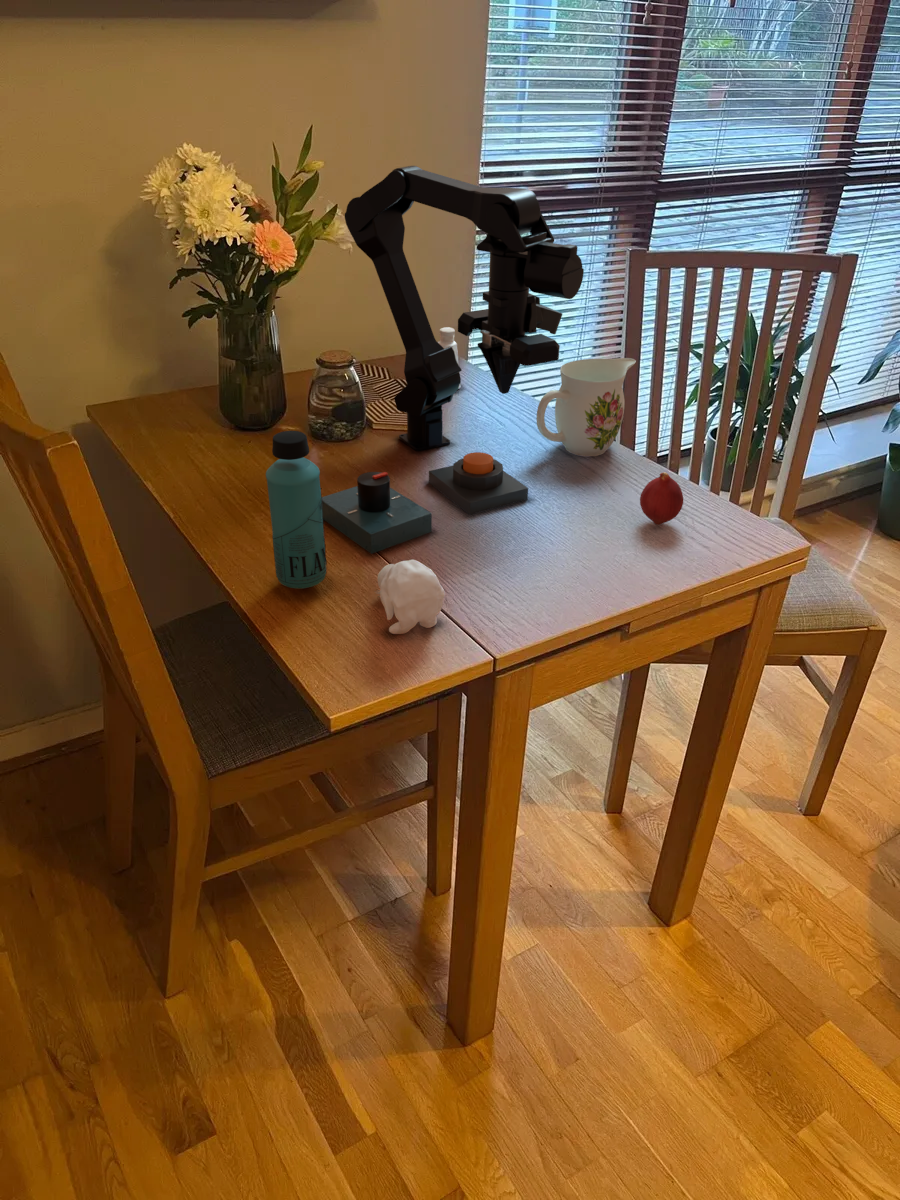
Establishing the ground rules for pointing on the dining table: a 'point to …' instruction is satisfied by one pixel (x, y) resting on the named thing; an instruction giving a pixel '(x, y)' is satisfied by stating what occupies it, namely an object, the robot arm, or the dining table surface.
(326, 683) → the dining table surface
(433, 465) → the dining table surface
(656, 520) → the onion
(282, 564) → the beverage bottle
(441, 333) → the pepper shaker
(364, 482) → the dial
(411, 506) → the dial console
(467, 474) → the button base
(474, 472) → the button
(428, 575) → the white lumpy figure
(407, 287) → the robot arm
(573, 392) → the pitcher
